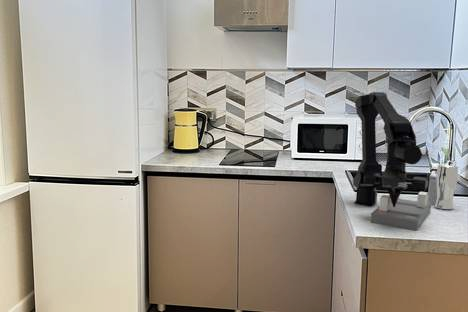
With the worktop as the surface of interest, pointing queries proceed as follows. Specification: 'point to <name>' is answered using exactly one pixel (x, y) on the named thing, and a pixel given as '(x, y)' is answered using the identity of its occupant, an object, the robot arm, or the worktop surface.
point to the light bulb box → (432, 188)
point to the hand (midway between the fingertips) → (394, 207)
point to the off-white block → (422, 199)
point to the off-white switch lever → (384, 203)
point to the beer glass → (446, 185)
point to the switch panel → (402, 215)
